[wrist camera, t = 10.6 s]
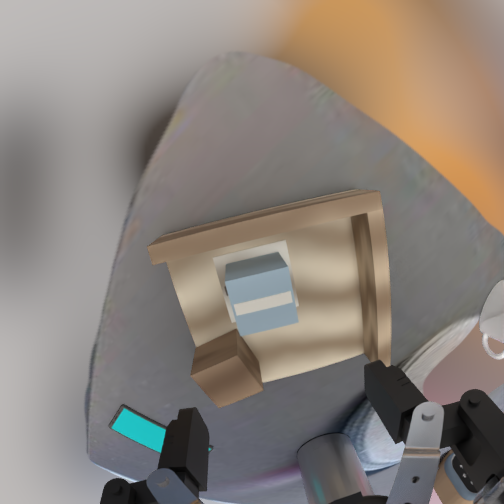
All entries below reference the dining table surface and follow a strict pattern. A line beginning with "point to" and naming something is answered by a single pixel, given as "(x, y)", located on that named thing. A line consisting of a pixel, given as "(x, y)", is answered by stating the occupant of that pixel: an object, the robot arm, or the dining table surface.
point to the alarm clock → (453, 482)
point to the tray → (293, 279)
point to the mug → (493, 319)
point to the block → (261, 293)
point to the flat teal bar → (140, 428)
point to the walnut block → (226, 369)
